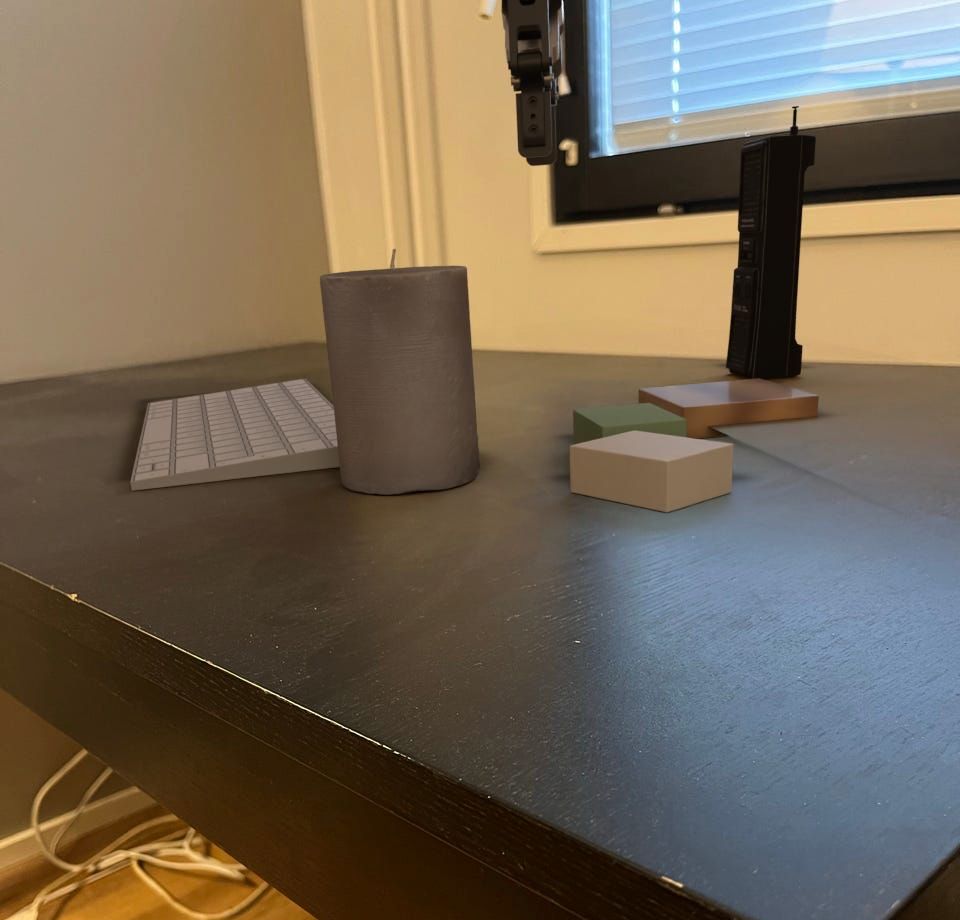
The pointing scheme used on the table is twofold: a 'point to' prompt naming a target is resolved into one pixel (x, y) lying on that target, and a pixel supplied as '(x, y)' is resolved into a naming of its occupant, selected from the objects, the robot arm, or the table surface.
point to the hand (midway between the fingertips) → (538, 161)
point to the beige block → (651, 469)
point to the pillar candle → (402, 377)
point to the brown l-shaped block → (730, 403)
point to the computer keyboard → (236, 435)
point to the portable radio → (769, 256)
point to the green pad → (625, 421)
